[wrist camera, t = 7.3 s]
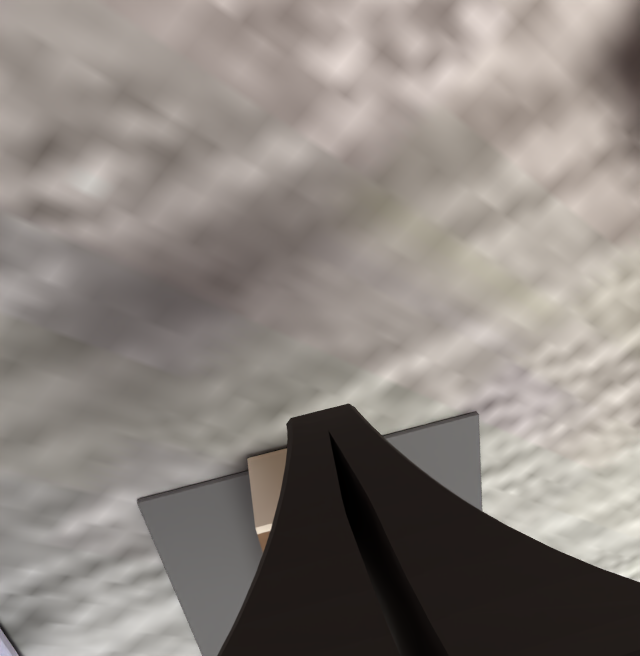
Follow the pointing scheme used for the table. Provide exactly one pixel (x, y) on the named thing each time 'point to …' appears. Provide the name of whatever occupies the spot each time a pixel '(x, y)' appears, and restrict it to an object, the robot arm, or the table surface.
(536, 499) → the table surface
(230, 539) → the mat
